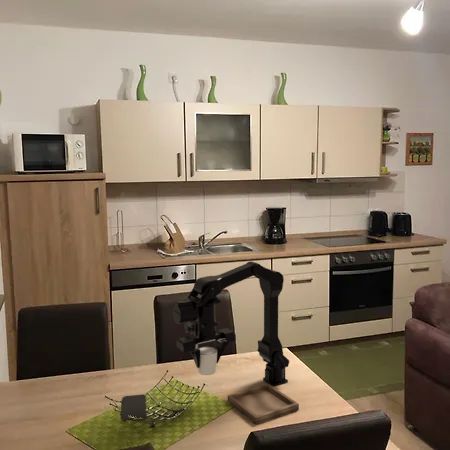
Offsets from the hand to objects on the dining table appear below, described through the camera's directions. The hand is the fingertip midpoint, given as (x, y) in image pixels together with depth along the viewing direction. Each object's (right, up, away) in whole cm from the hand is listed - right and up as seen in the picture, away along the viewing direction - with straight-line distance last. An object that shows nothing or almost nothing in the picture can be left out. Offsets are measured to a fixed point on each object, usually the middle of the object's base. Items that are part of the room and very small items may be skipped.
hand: (207, 365), depth 152 cm
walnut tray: (+17, -12, -2) cm, 21 cm away
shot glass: (0, -2, 0) cm, 2 cm away
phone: (-23, -13, -3) cm, 26 cm away
